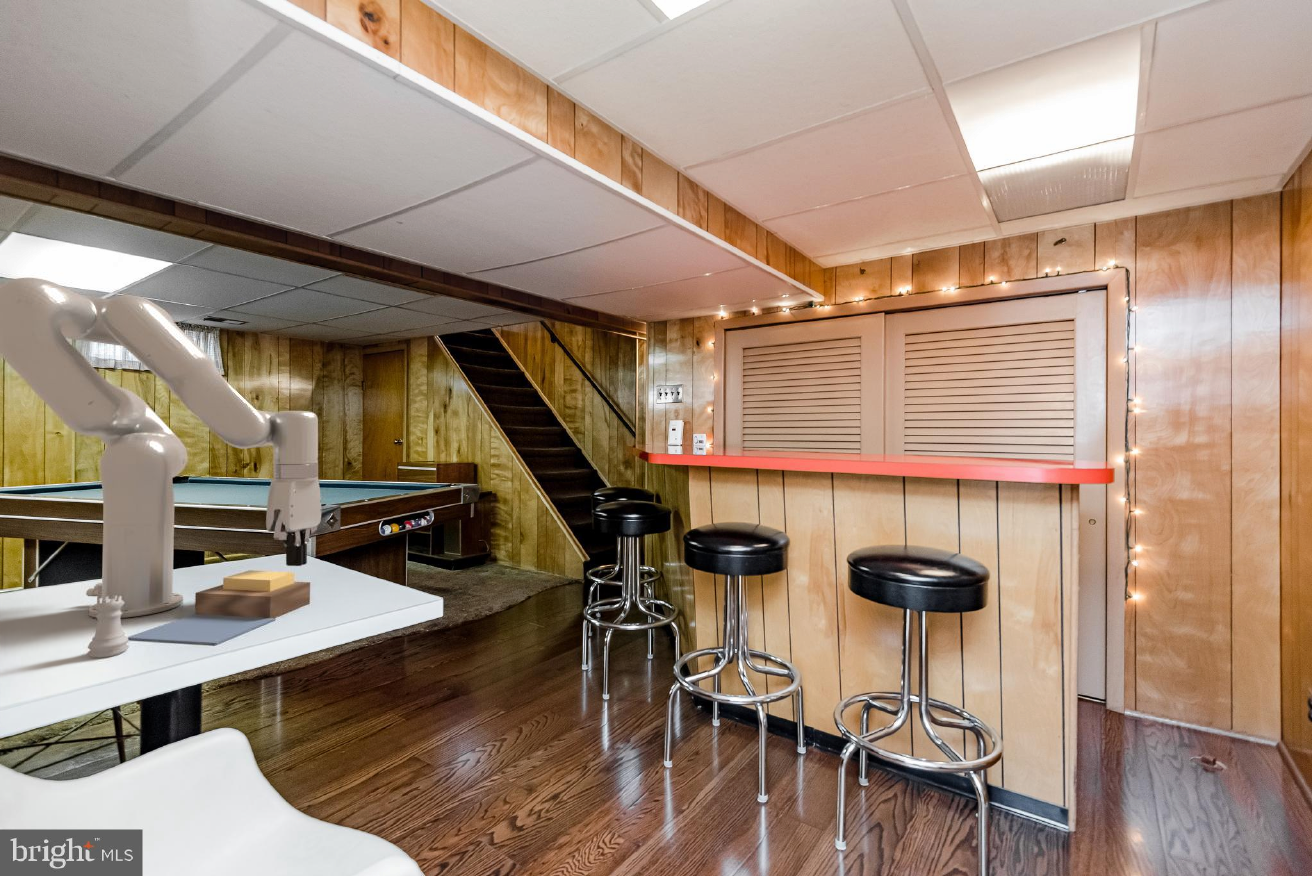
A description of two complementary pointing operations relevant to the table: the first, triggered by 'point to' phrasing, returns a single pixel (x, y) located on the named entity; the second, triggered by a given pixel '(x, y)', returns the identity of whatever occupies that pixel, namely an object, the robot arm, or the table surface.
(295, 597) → the wooden block
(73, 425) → the robot arm
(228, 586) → the yellow kitchen sponge
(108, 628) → the rook chess piece
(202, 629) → the mat
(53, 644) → the table surface
